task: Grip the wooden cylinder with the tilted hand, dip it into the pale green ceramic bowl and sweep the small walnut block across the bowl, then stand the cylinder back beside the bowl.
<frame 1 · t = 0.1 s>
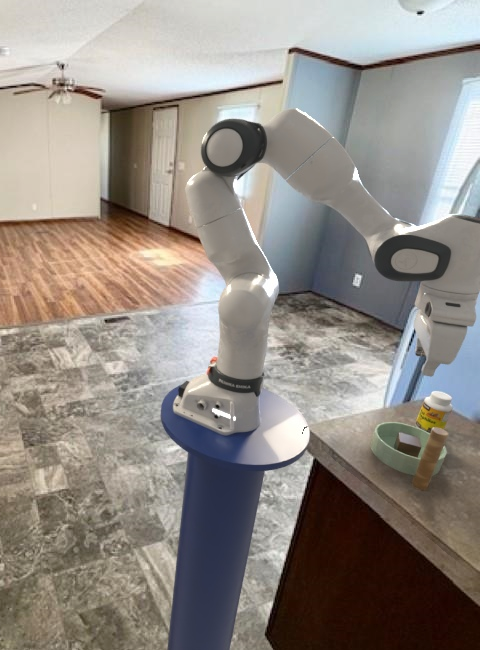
hand: (422, 364, 87), 24 cm above the countertop, tool pointing down, fingers open, 8 cm apart
wooden cylinder: (419, 485, 89), on the countertop
bowl: (403, 455, 97), on the countertop
supplement bottle: (427, 430, 106), on the countertop
block: (404, 453, 97), point 1 cm above the countertop, touching bowl
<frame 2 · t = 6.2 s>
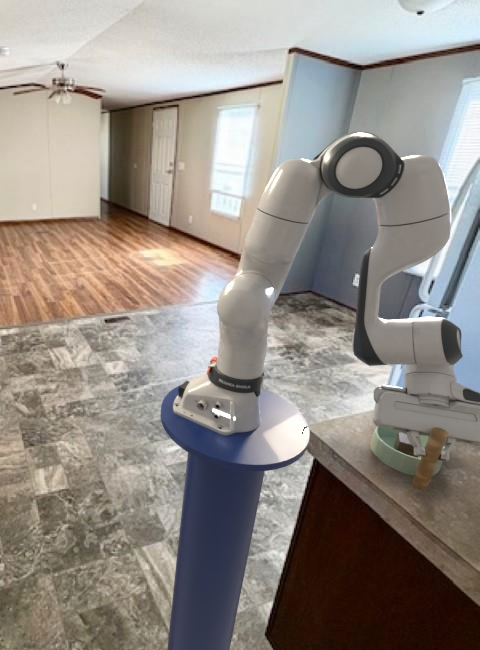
hand: (431, 458, 85), 8 cm above the countertop, tool tilted 45°, fingers closed on wooden cylinder, 2 cm apart
wooden cylinder: (419, 485, 89), on the countertop, touching gripper
everything else where it was.
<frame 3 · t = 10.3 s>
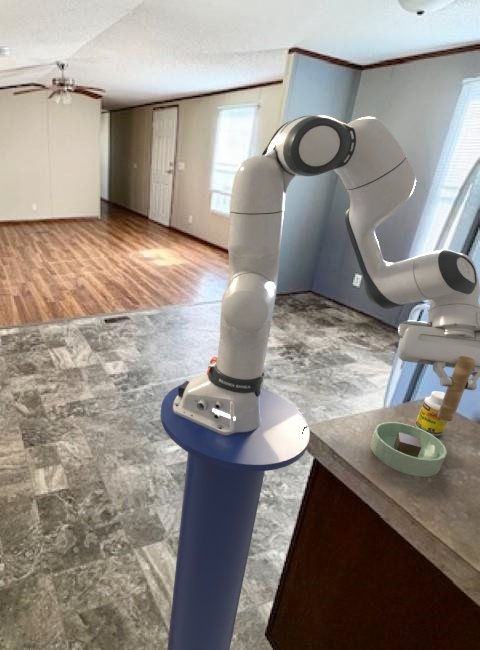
hand: (458, 387, 86), 21 cm above the countertop, tool tilted 45°, fingers closed on wooden cylinder, 2 cm apart
wooden cylinder: (444, 417, 89), point 13 cm above the countertop, touching gripper
everything else where it was.
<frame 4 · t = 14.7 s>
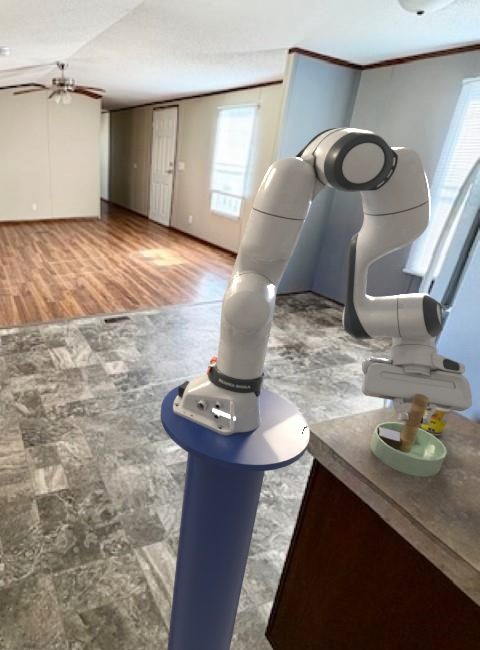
hand: (414, 422, 93), 10 cm above the countertop, tool tilted 45°, fingers closed on wooden cylinder, 2 cm apart
wooden cylinder: (403, 449, 96), point 2 cm above the countertop, touching block, gripper
block: (385, 447, 99), point 1 cm above the countertop, touching bowl, wooden cylinder
everything else where it was.
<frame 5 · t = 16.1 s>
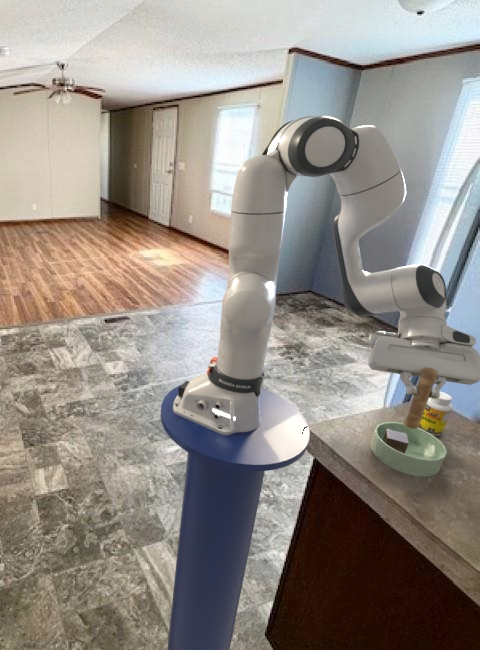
hand: (422, 396, 90), 16 cm above the countertop, tool tilted 45°, fingers closed on wooden cylinder, 2 cm apart
wooden cylinder: (410, 425, 94), point 8 cm above the countertop, touching gripper
block: (392, 449, 98), point 1 cm above the countertop, touching bowl
everything else where it was.
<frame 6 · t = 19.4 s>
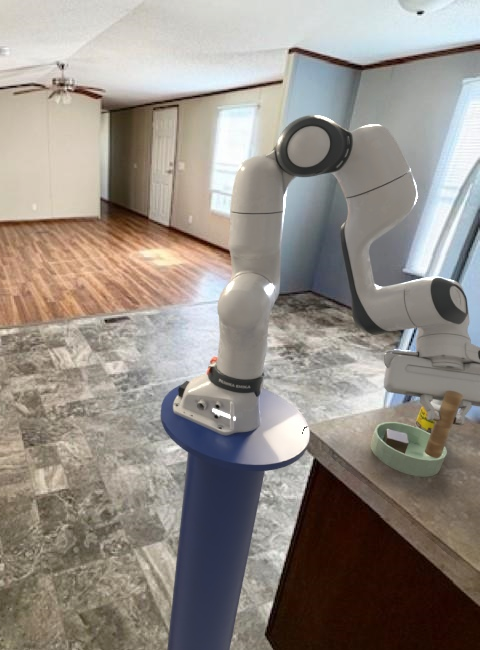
hand: (446, 422, 82), 17 cm above the countertop, tool tilted 45°, fingers closed on wooden cylinder, 2 cm apart
wooden cylinder: (432, 453, 85), point 9 cm above the countertop, touching gripper
everything else where it was.
when the fingers open (8 cm above the countertop, at t = 21.9 s): wooden cylinder stays where it is, on the countertop.
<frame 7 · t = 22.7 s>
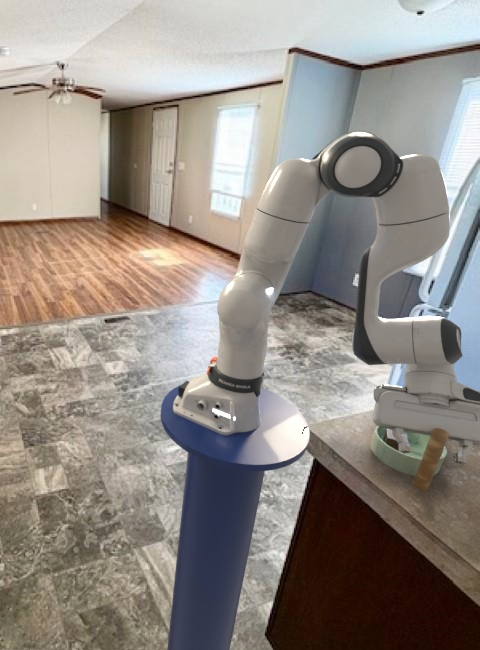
hand: (431, 457, 85), 8 cm above the countertop, tool tilted 45°, fingers open, 8 cm apart
wooden cylinder: (419, 486, 88), on the countertop
everything else where it was.
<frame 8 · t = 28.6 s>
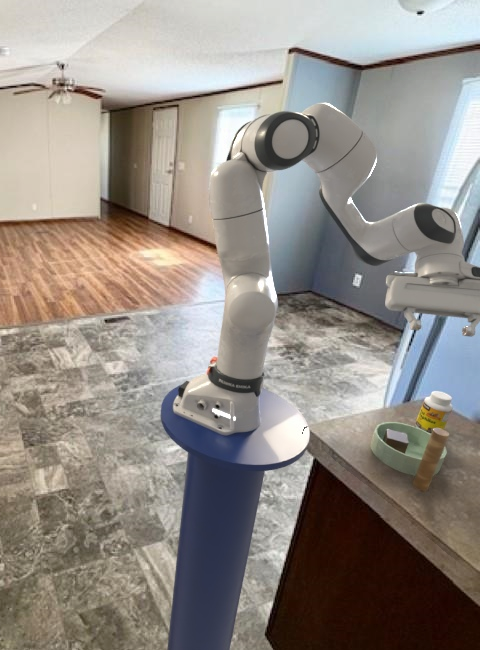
hand: (441, 332, 89), 29 cm above the countertop, tool tilted 45°, fingers open, 8 cm apart
nothing on the countertop moved.
at the end: block moved 2.4 cm from its start; block inside the target area in the bowl (2.3 cm from its centre), point 0.6 cm above the bowl's base; the gripper is holding nothing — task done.
